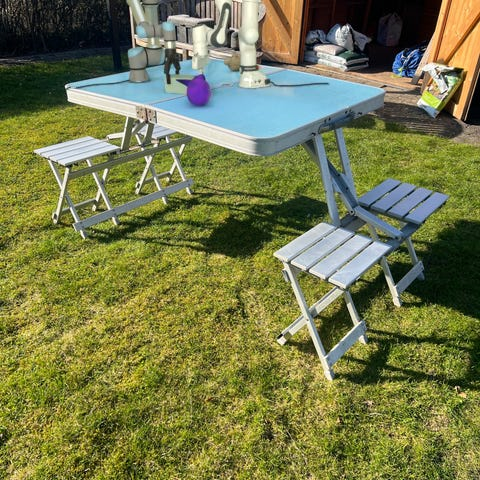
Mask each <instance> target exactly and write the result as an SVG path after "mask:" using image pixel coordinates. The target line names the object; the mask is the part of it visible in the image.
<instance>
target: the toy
mask: <svg viewBox="0 0 480 480" xmlns="http://www.w3.org/2000/svg"><path fill="white" fill-rule="evenodd" d="M196 75H197V76H194V79H193V80H189V79H176V81H178V82H179V83H181V84H183V85H185V86H187V94H186V98H187V100H188V101H189V103H190V104H192V105H194V106H199V107H202V106H205V105H207V104H208V102H209V101H210V99H211V97H212V88H211V84H209V82H208V81H207V80H206V75H204V74H196Z"/></svg>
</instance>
